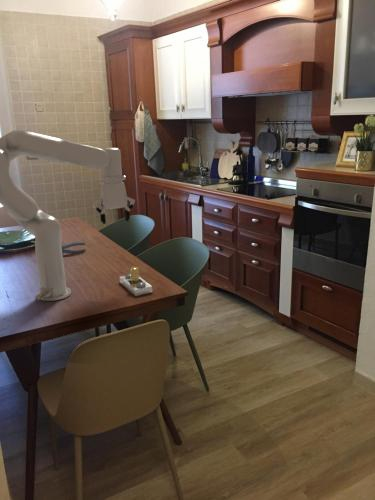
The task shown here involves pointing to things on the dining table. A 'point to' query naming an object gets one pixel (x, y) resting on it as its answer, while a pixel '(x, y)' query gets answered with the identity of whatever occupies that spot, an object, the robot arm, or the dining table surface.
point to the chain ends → (136, 285)
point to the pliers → (72, 250)
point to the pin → (134, 275)
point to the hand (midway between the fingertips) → (115, 222)
